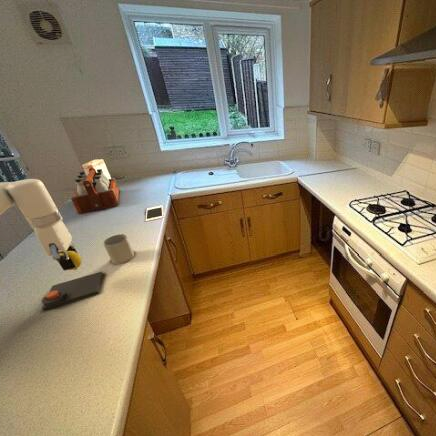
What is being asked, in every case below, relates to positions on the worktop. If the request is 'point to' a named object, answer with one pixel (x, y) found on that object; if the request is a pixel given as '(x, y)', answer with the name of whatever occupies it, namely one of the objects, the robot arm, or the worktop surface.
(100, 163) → the coffeecake box
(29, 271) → the worktop surface
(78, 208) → the milk bottle holder
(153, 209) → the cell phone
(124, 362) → the worktop surface
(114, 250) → the cup
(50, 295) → the tare button
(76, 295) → the scale
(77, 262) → the lemon
